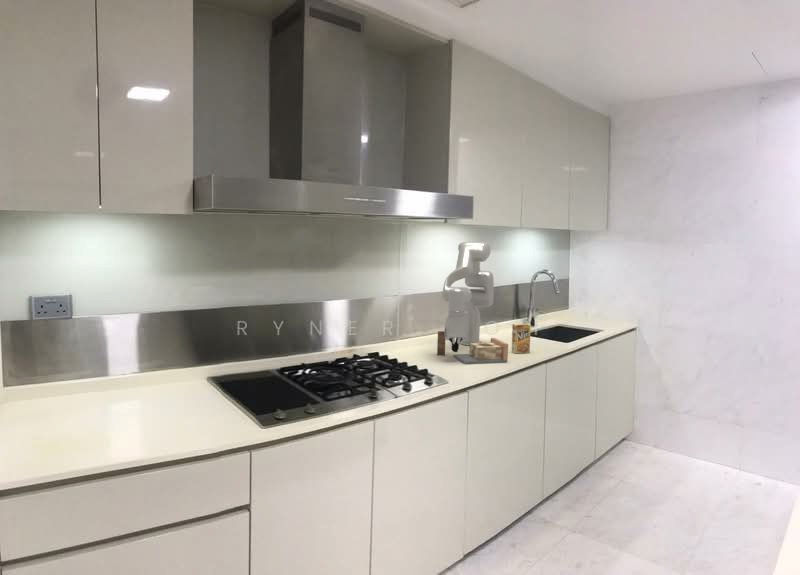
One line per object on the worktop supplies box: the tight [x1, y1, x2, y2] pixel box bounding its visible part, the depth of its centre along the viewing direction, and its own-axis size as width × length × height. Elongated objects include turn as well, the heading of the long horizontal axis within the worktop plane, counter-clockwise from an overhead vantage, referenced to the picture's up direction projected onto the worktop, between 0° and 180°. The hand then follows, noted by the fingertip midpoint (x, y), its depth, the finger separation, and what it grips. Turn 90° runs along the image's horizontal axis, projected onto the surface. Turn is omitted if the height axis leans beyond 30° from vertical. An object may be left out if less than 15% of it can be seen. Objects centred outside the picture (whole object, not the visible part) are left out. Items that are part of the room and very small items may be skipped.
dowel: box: [436, 330, 446, 356], centre depth 259 cm, size 4×4×12 cm
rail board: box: [453, 337, 509, 365], centre depth 250 cm, size 16×22×9 cm
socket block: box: [468, 341, 502, 360], centre depth 250 cm, size 12×12×6 cm
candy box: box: [511, 323, 531, 354], centre depth 268 cm, size 9×4×15 cm, turn 107°
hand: (455, 351), depth 246 cm, fingers closed
